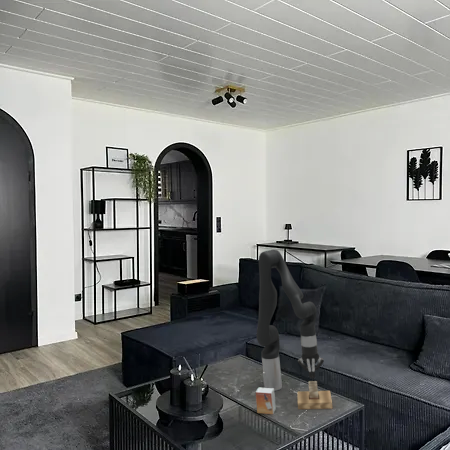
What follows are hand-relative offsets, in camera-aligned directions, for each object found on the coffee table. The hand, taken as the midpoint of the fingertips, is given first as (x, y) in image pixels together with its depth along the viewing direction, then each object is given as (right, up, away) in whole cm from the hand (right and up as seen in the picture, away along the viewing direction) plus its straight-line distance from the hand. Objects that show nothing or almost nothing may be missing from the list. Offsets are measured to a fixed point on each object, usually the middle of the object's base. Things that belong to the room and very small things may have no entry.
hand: (312, 378), depth 209 cm
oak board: (+1, -12, +1) cm, 12 cm away
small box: (-22, -15, -2) cm, 27 cm away
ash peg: (+1, -12, +1) cm, 12 cm away
